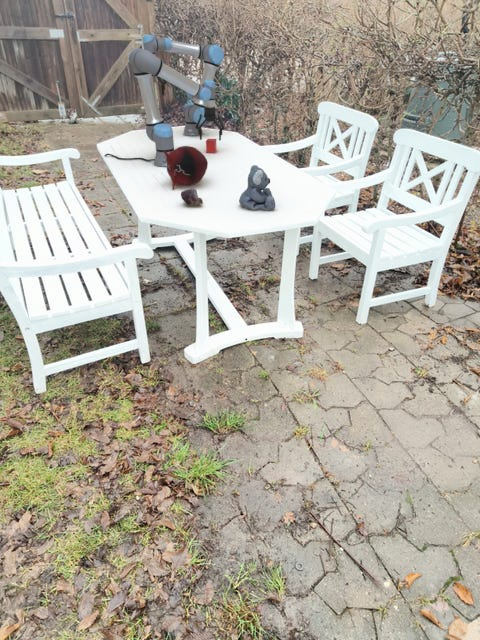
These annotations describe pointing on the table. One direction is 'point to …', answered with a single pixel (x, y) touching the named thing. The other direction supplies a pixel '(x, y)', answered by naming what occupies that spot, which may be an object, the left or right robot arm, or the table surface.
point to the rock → (191, 197)
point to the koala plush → (257, 191)
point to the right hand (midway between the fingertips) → (154, 95)
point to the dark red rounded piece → (186, 165)
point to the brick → (211, 146)
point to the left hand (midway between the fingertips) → (210, 139)
